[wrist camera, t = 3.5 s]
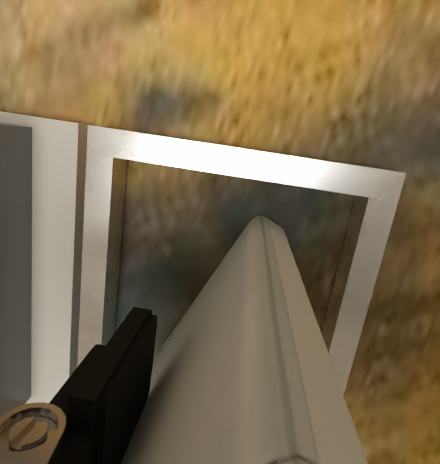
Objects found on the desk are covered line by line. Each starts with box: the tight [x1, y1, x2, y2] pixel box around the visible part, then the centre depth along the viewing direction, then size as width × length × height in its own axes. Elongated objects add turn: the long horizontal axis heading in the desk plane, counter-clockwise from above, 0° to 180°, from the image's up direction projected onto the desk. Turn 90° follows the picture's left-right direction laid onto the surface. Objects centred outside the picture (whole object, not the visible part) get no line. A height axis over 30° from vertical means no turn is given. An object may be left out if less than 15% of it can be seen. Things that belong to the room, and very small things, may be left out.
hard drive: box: [121, 215, 368, 464], centre depth 9 cm, size 2×8×12 cm, turn 147°
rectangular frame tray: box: [77, 125, 406, 395], centre depth 14 cm, size 11×13×2 cm
